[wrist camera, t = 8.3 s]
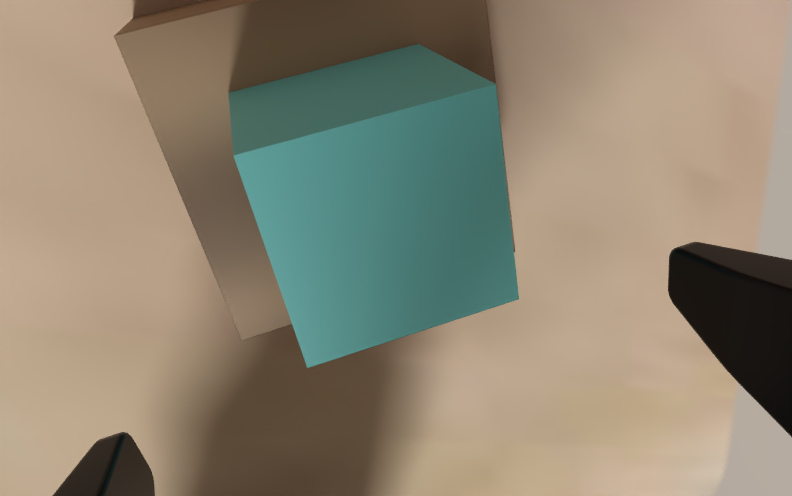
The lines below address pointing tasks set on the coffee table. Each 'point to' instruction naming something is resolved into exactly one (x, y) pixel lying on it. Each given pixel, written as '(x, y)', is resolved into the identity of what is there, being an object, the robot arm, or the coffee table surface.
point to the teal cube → (378, 196)
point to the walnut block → (253, 65)
